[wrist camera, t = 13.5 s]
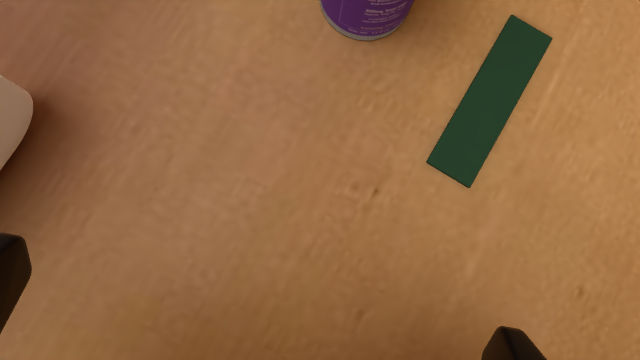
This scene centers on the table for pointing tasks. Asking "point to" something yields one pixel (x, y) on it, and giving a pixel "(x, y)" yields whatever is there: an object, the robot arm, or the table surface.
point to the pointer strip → (489, 101)
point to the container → (365, 16)
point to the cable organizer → (13, 117)
